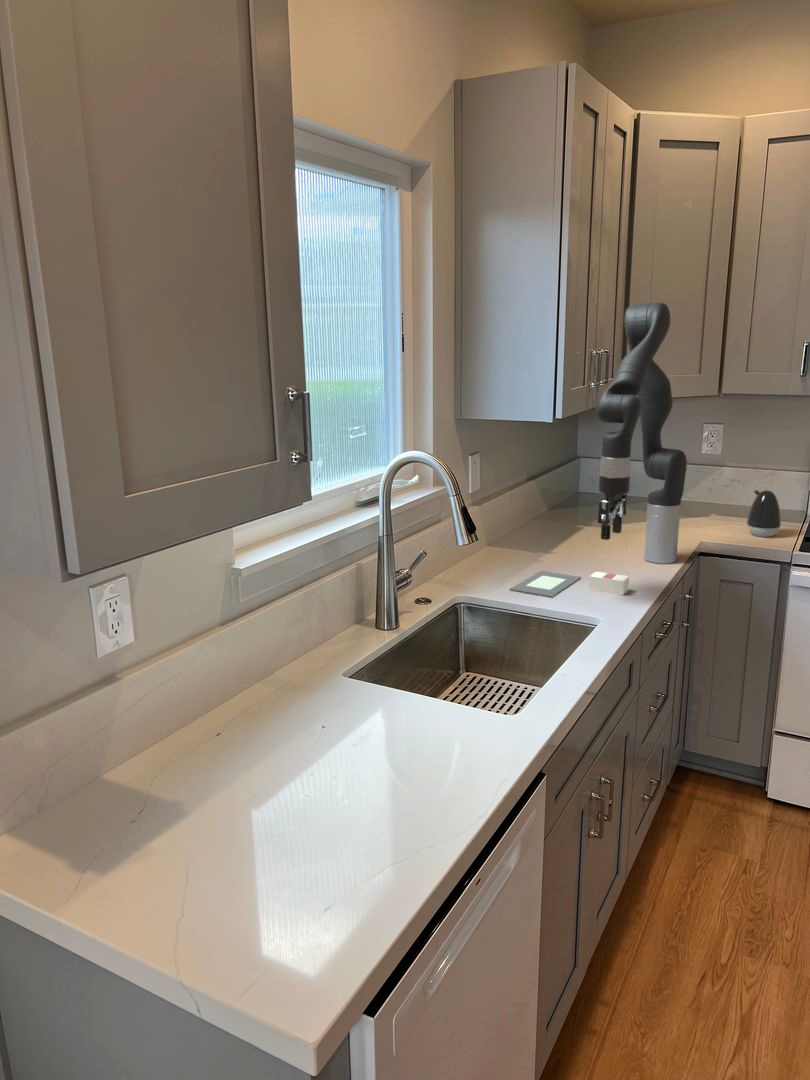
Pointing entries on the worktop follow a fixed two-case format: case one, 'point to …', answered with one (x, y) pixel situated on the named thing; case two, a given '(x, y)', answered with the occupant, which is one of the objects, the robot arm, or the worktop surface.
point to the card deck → (609, 583)
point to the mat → (545, 583)
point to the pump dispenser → (764, 515)
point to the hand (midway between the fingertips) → (611, 536)
